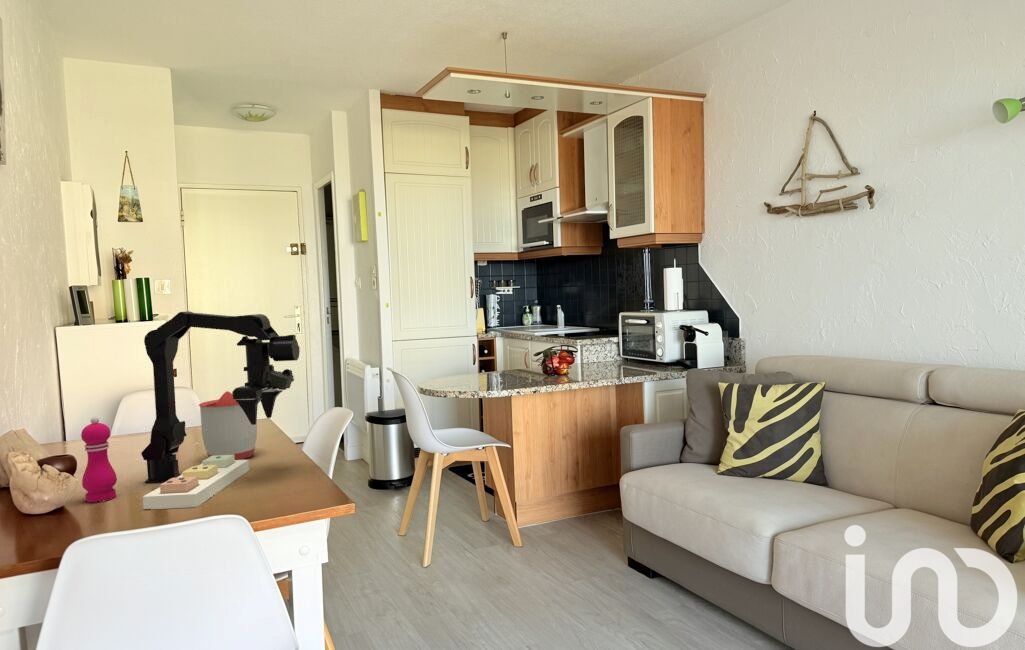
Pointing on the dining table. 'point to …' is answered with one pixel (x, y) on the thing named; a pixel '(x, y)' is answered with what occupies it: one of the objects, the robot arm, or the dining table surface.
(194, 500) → the rail
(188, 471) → the tile
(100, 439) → the pepper mill
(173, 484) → the three-pip tile
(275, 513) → the dining table surface
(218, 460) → the tile
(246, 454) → the citrus juicer
